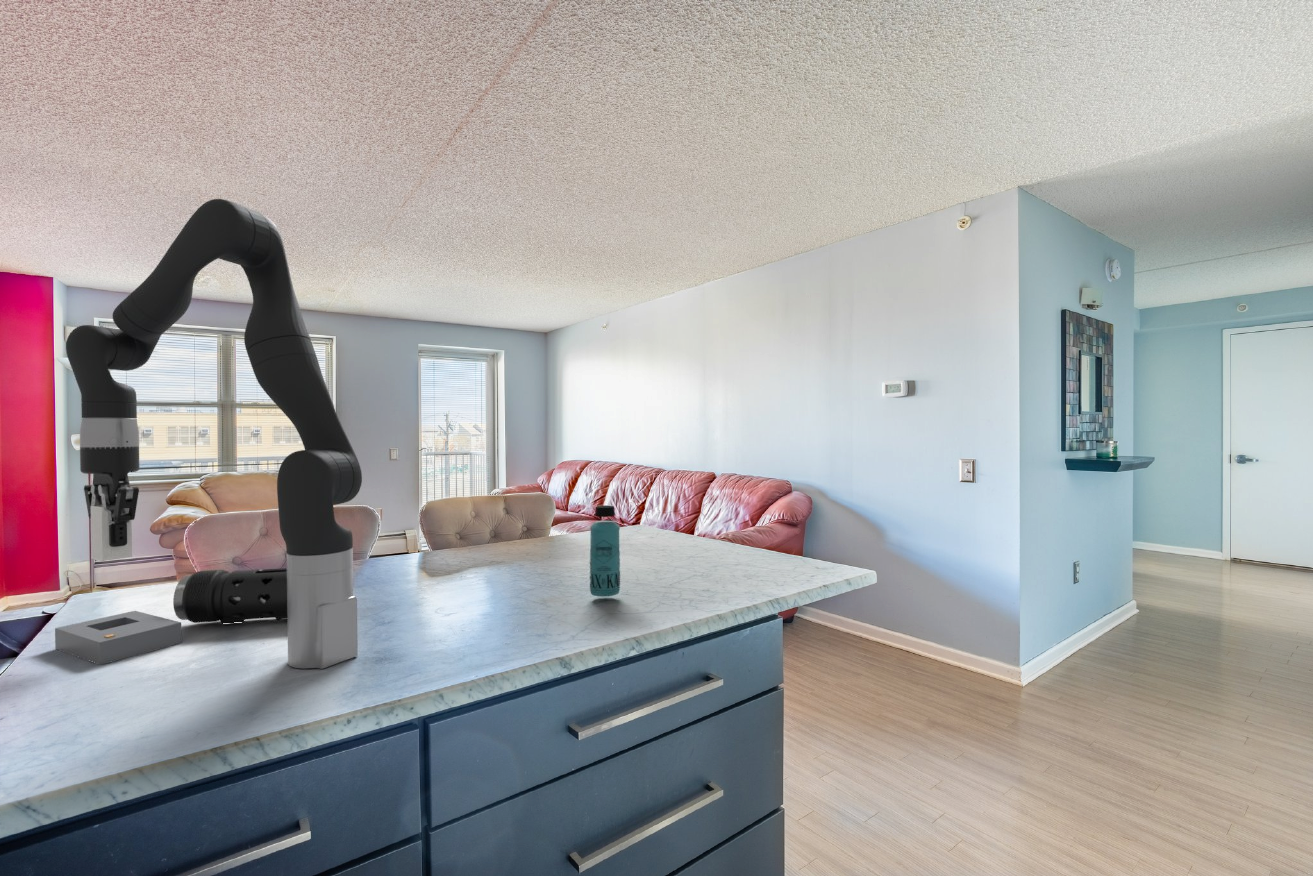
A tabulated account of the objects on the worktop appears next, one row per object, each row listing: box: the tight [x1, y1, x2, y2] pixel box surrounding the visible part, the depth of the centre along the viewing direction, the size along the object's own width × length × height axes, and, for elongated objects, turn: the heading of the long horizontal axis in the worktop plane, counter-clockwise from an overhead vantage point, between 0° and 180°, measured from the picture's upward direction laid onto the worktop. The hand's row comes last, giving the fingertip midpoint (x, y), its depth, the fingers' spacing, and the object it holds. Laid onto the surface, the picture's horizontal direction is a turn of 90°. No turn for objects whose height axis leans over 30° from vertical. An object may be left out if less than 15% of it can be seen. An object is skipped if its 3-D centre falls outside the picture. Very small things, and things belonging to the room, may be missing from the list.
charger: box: [90, 504, 133, 562], centre depth 104 cm, size 4×4×9 cm
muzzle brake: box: [172, 567, 287, 625], centre depth 116 cm, size 10×28×10 cm, turn 102°
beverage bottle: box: [588, 505, 621, 598], centre depth 128 cm, size 6×7×20 cm
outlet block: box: [54, 610, 183, 666], centre depth 103 cm, size 16×11×4 cm
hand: (111, 544), depth 104 cm, fingers closed on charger, 4 cm apart
